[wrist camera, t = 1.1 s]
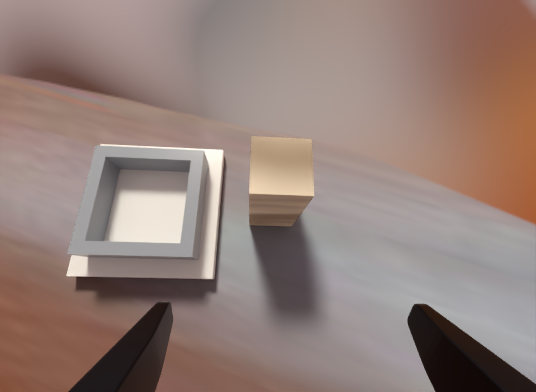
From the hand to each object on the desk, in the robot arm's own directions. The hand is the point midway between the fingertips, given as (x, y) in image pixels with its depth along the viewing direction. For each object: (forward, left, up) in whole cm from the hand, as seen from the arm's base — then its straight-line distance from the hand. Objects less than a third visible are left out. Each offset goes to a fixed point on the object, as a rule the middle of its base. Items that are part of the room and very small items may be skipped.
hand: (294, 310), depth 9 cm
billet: (+8, +1, -14) cm, 16 cm away
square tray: (+6, +11, -13) cm, 19 cm away
